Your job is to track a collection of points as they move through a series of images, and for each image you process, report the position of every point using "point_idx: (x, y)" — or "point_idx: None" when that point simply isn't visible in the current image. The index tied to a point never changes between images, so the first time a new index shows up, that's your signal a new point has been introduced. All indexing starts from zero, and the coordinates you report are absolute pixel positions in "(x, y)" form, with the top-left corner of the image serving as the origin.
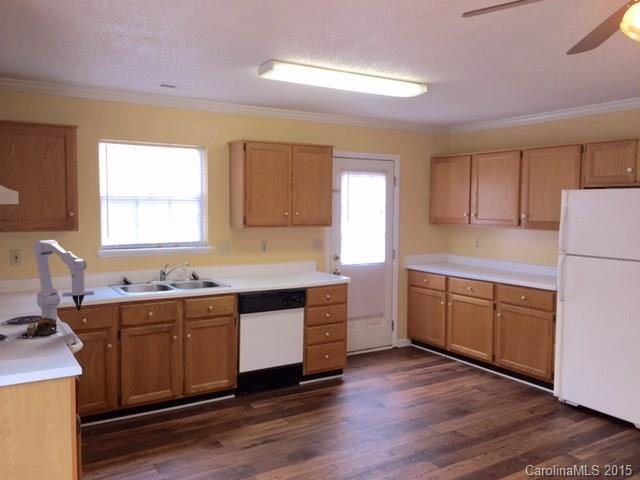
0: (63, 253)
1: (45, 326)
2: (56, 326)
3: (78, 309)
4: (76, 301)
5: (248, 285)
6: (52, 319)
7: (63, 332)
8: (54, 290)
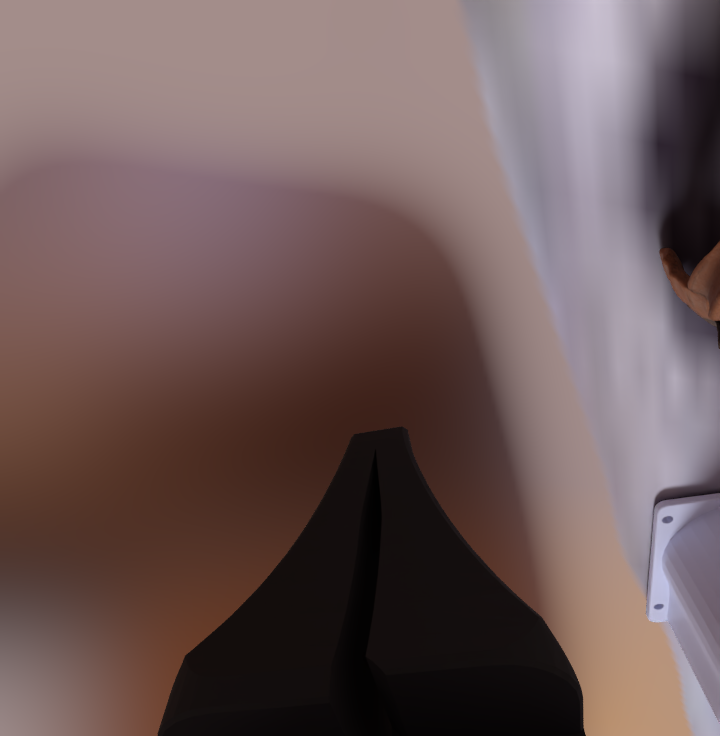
0: None
1: None
2: (677, 275)
3: (380, 440)
4: (418, 566)
5: None
6: None
7: (551, 110)
8: None
